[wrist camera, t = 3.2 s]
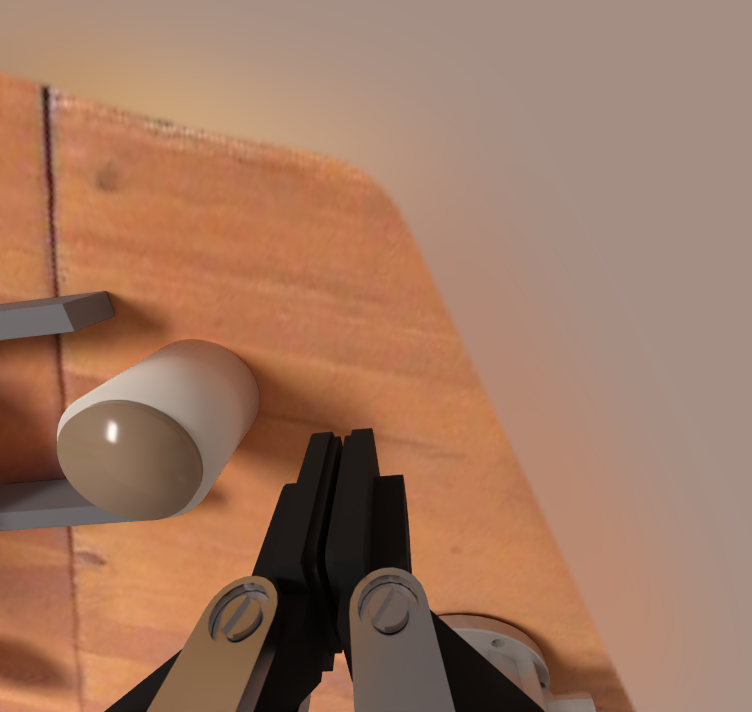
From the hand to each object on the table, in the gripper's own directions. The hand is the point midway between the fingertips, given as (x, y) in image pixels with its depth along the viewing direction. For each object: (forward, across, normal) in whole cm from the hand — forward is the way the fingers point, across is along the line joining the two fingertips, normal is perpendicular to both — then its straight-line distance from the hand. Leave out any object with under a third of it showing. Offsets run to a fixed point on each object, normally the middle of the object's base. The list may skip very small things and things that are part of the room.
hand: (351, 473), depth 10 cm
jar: (+8, +9, +1) cm, 12 cm away
